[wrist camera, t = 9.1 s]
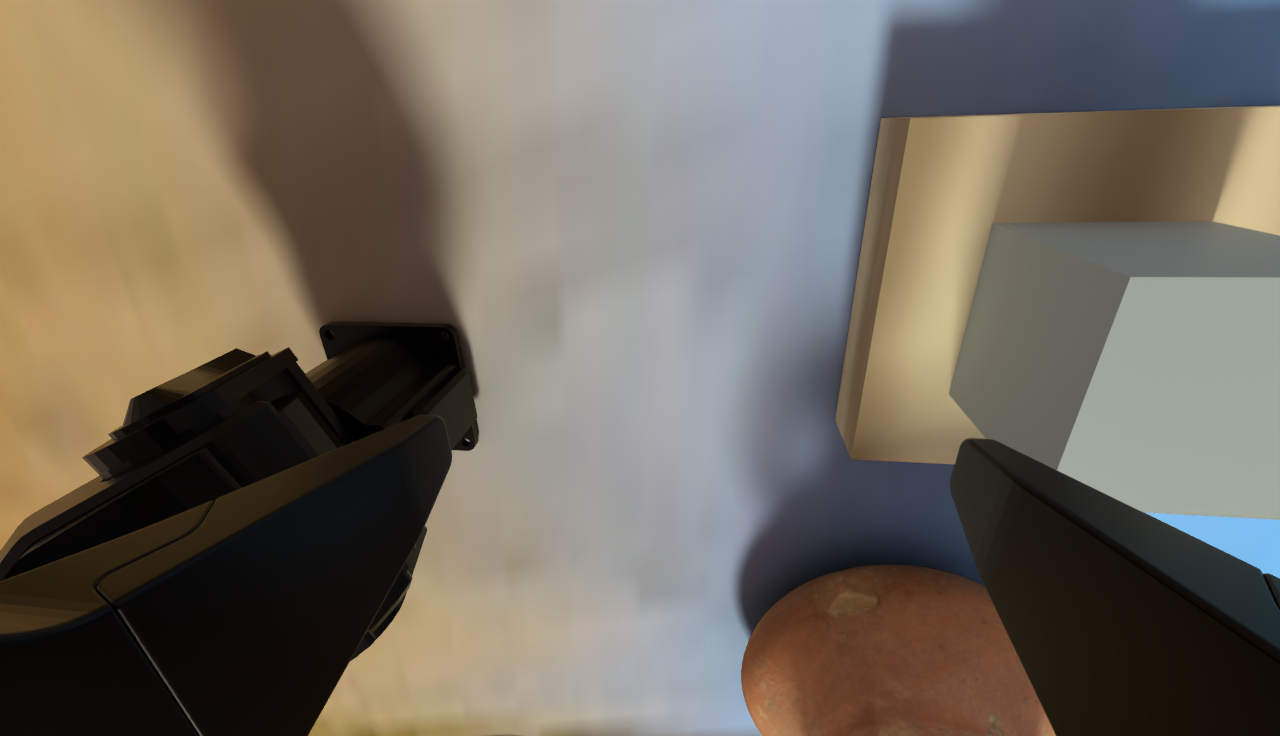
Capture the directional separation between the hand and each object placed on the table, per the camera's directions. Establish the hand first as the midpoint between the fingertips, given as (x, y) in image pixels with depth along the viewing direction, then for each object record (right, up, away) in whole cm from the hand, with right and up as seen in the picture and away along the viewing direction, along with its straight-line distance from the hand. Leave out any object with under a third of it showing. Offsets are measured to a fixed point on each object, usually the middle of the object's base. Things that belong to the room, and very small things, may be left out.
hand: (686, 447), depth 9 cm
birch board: (+14, +4, +11) cm, 18 cm away
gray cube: (+13, +3, +8) cm, 16 cm away
